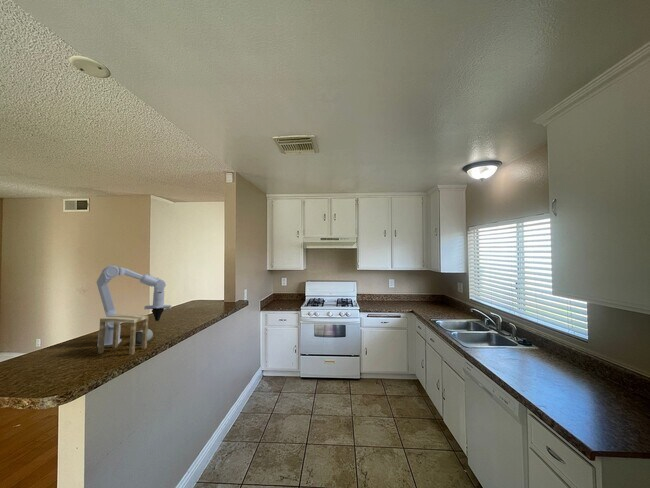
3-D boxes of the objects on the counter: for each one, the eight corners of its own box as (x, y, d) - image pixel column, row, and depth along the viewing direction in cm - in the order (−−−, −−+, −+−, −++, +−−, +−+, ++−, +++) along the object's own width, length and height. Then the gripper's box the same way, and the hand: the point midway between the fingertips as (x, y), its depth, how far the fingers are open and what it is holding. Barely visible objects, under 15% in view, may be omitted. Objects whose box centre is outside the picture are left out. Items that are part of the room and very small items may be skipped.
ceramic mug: (153, 340, 150) (154, 327, 151) (144, 345, 142) (145, 331, 142) (135, 340, 150) (136, 327, 150) (125, 345, 141) (125, 331, 142)
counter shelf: (132, 354, 128) (134, 319, 129) (97, 353, 129) (100, 318, 130) (146, 347, 138) (148, 315, 139) (114, 346, 139) (116, 314, 140)
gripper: (142, 300, 154) (141, 322, 154) (168, 299, 157) (167, 321, 157) (148, 298, 161) (146, 319, 160) (173, 297, 164) (171, 319, 163)
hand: (157, 320), depth 159 cm, fingers closed
